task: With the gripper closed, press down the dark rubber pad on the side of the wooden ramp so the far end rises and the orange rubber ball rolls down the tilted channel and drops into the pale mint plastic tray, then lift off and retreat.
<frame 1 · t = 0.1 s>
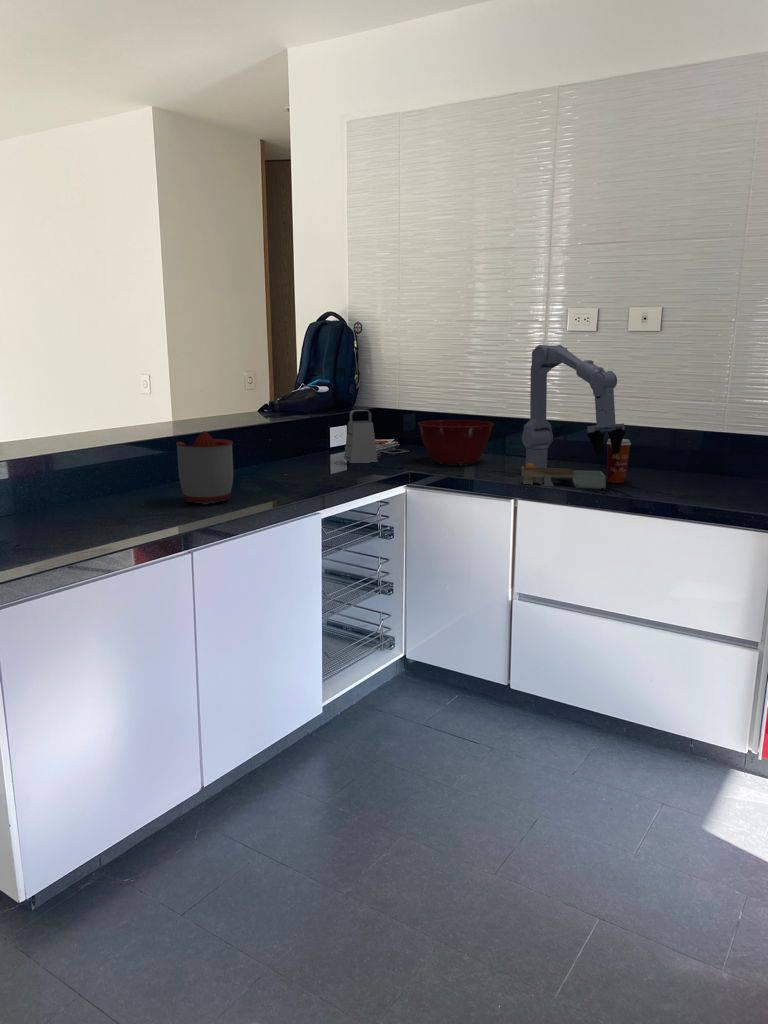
hand: (607, 454, 233), 11 cm above the worktop, tool pointing down, fingers open, 7 cm apart
stand: (546, 484, 241), on the worktop
tray: (588, 485, 239), on the worktop
citrus juicer: (205, 501, 213), on the worktop
wooden ramp: (546, 474, 243), point 3 cm above the worktop, hinge at 0.0°, touching ball
grater: (360, 464, 281), on the worktop
mixing bowl: (454, 463, 283), on the worktop
ball: (529, 472, 240), point 4 cm above the worktop, touching wooden ramp
paper cup: (616, 482, 244), on the worktop
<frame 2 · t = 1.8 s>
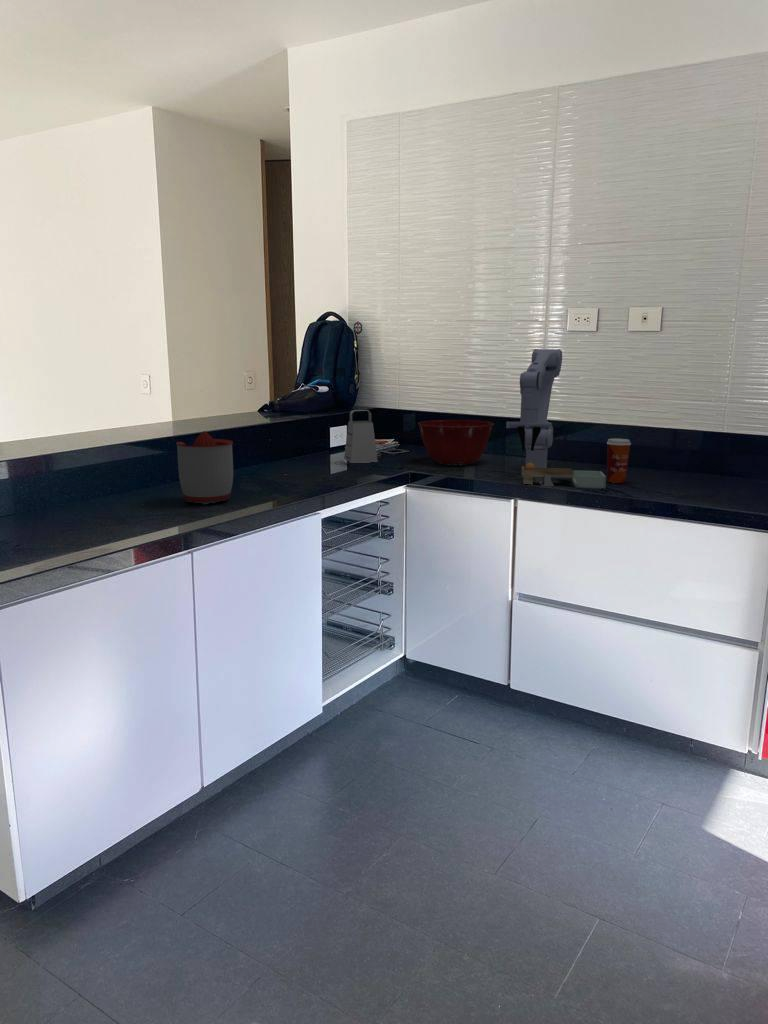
hand: (527, 450, 246), 10 cm above the worktop, tool pointing down, fingers closed
nothing on the worktop moved.
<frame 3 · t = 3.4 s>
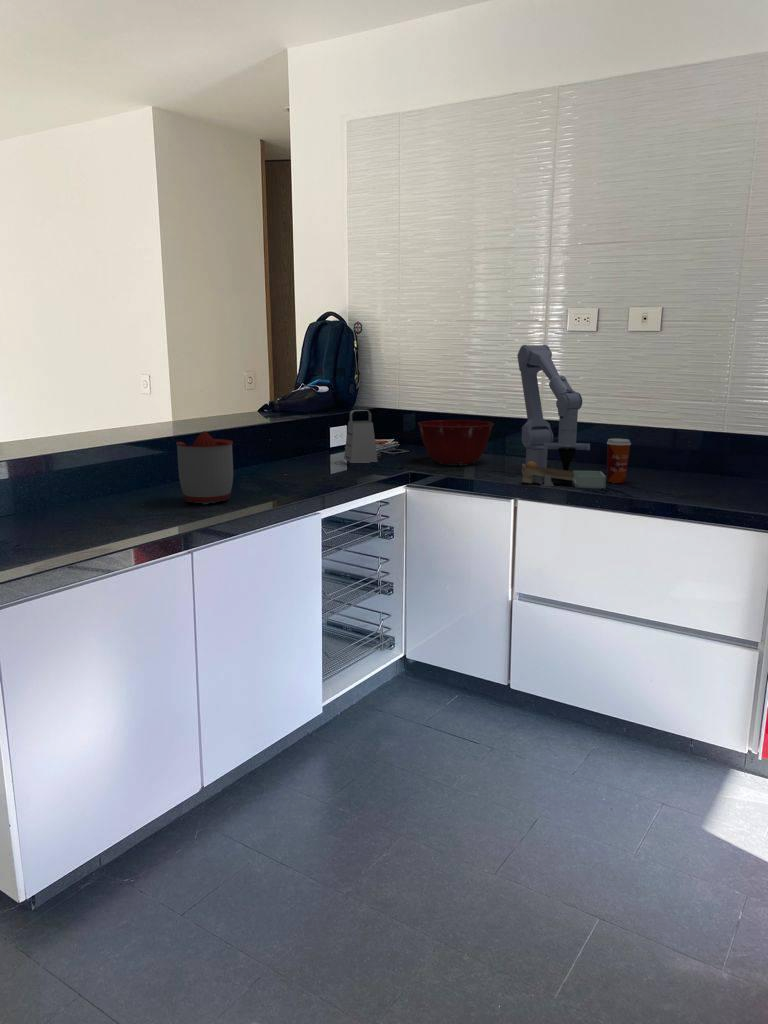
hand: (565, 471, 246), 3 cm above the worktop, tool pointing down, fingers closed, pressing on wooden ramp
wooden ramp: (546, 474, 243), point 3 cm above the worktop, hinge at 6.5°, touching ball, gripper
ball: (530, 470, 240), point 4 cm above the worktop, tilted 12°, touching wooden ramp
everything else where it was.
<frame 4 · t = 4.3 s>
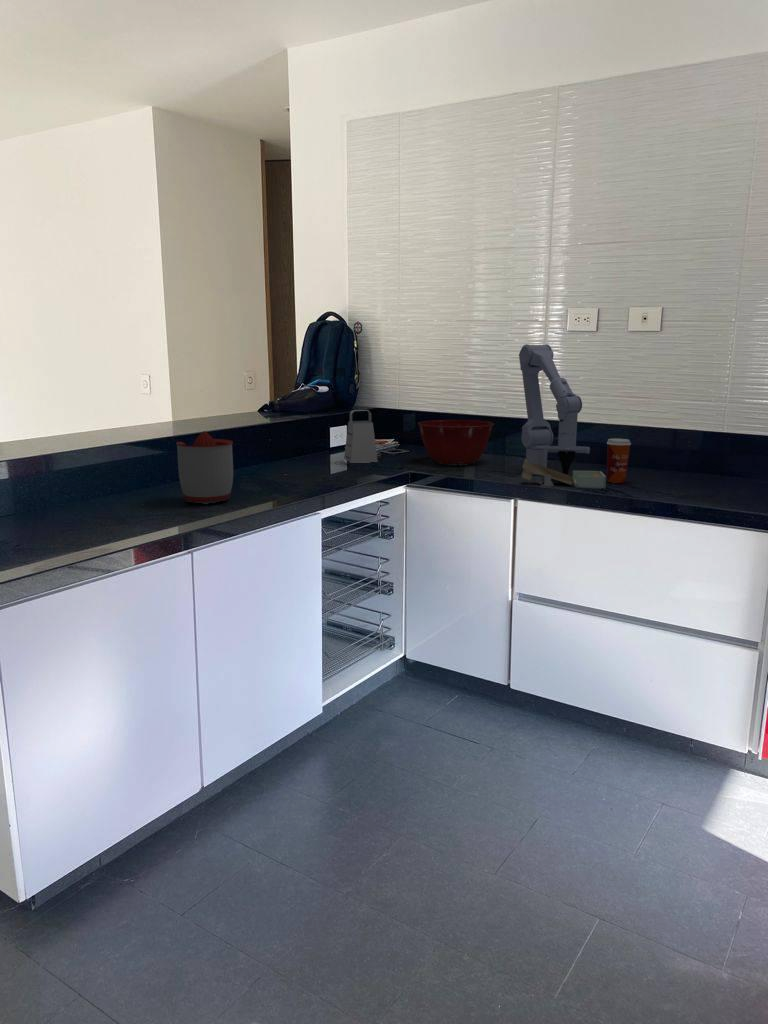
hand: (565, 474, 246), 2 cm above the worktop, tool pointing down, fingers closed
wooden ramp: (545, 474, 243), point 3 cm above the worktop, hinge at 17.3°, touching gripper
ball: (591, 476, 238), point 3 cm above the worktop, tilted 121°, touching tray
everything else where it was.
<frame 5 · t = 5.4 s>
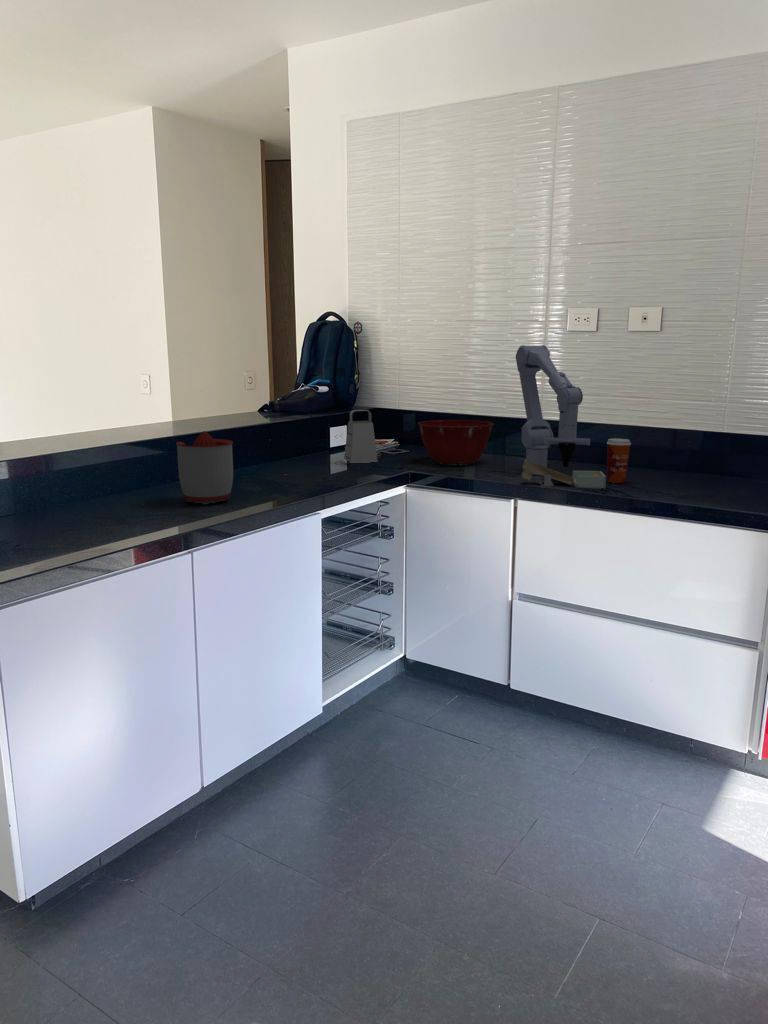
hand: (565, 466, 246), 5 cm above the worktop, tool pointing down, fingers closed
wooden ramp: (545, 474, 243), point 3 cm above the worktop, hinge at 17.3°
everything else where it was.
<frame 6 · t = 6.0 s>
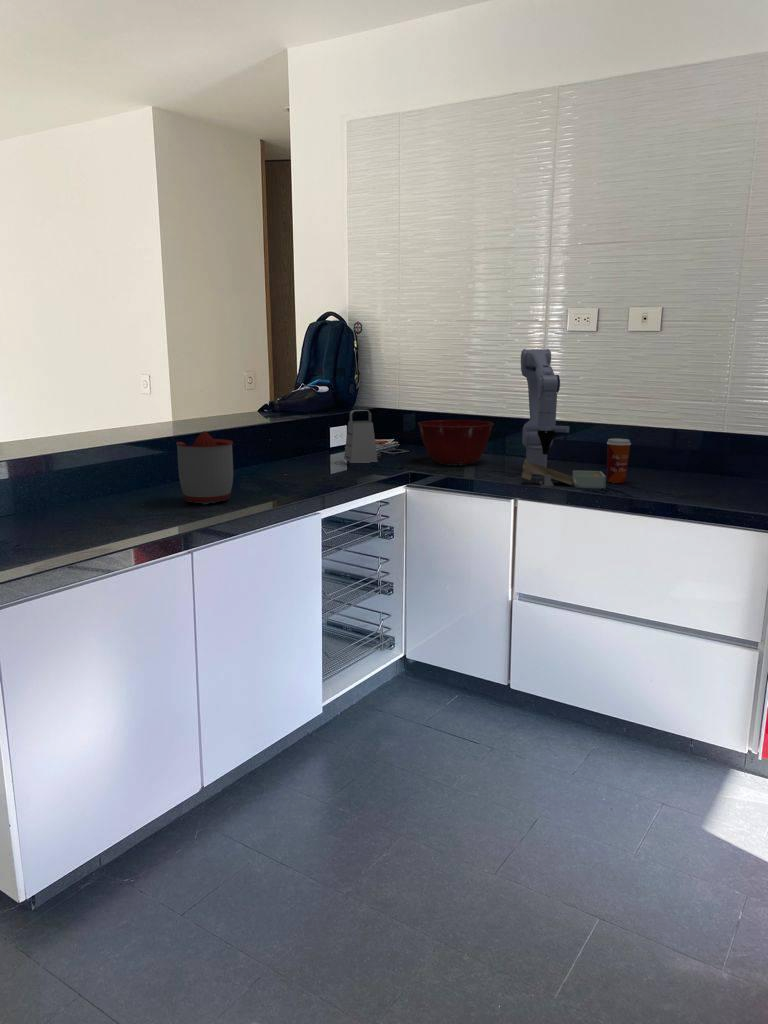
hand: (545, 454, 245), 9 cm above the worktop, tool pointing down, fingers closed
nothing on the worktop moved.
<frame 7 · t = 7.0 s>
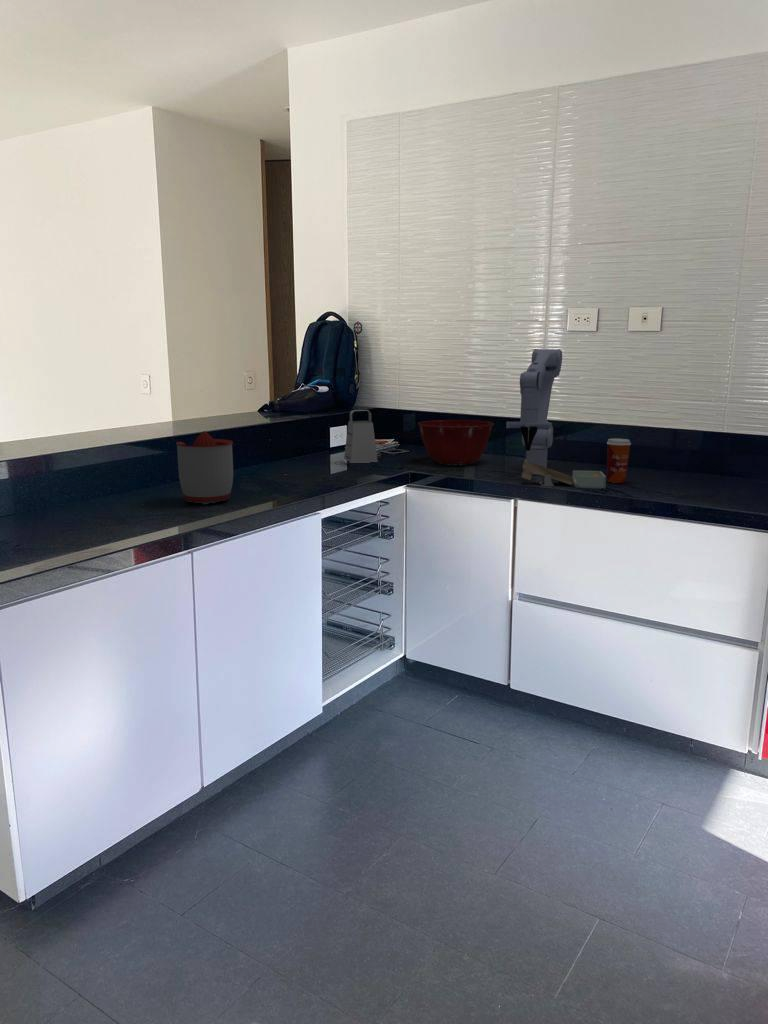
hand: (527, 450, 246), 10 cm above the worktop, tool pointing down, fingers closed
nothing on the worktop moved.
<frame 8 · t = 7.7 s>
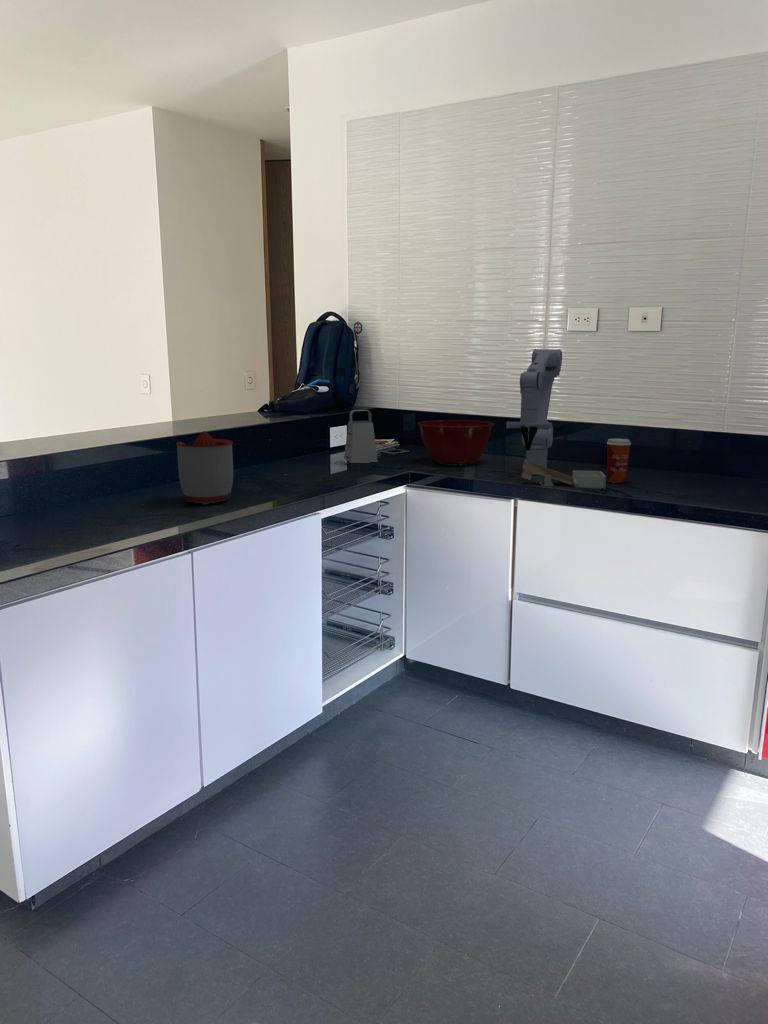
hand: (527, 450, 246), 10 cm above the worktop, tool pointing down, fingers closed
nothing on the worktop moved.
at the end: ball inside the target area on the tray (0.5 cm from its centre), point 2.7 cm above the tray's base; ball point 2.7 cm above the worktop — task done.
